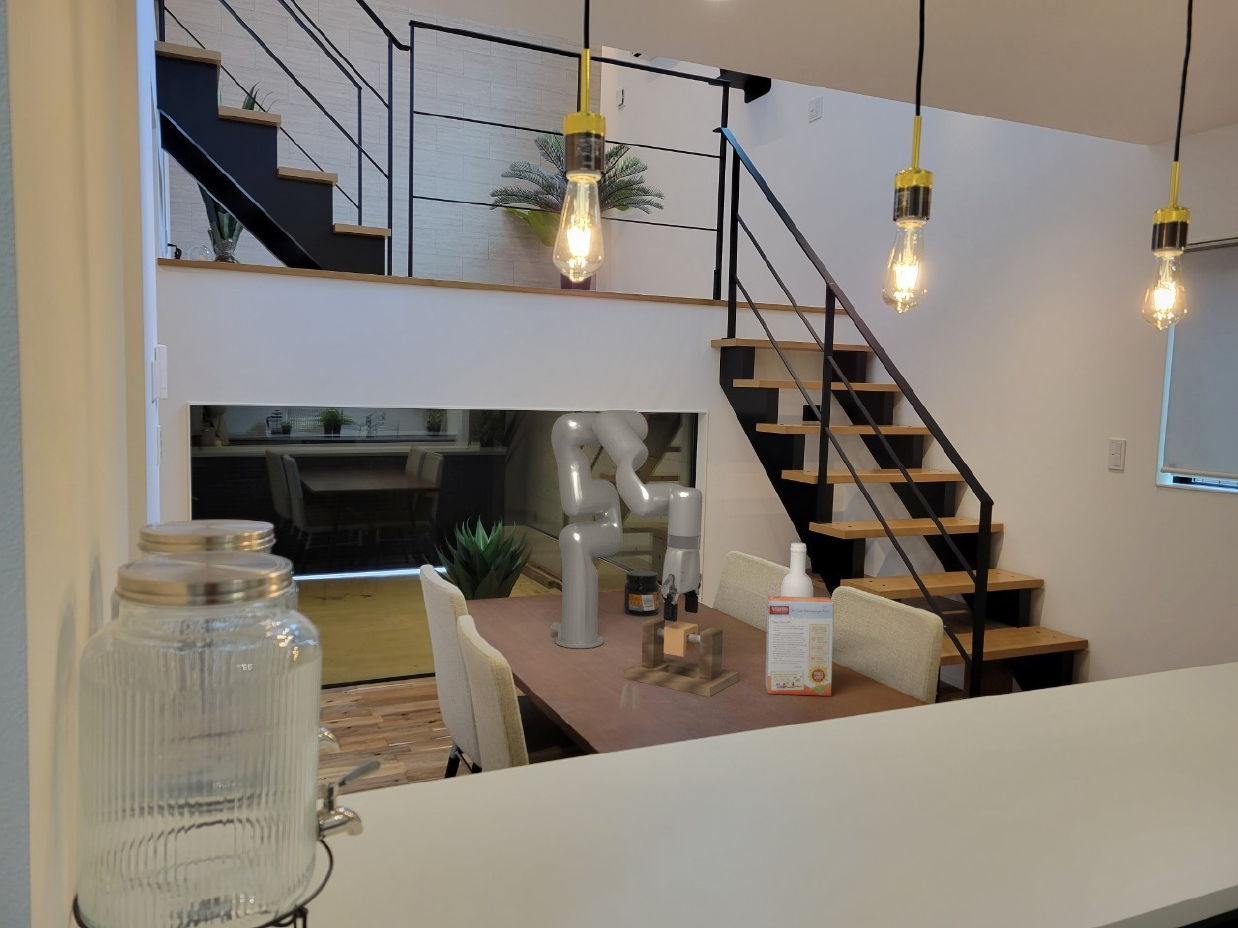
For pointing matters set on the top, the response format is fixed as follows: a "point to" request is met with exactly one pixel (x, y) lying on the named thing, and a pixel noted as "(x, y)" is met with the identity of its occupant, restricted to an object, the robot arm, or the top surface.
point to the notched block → (679, 638)
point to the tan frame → (682, 663)
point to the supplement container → (641, 593)
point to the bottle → (797, 574)
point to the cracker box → (799, 645)
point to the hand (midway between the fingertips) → (680, 616)
